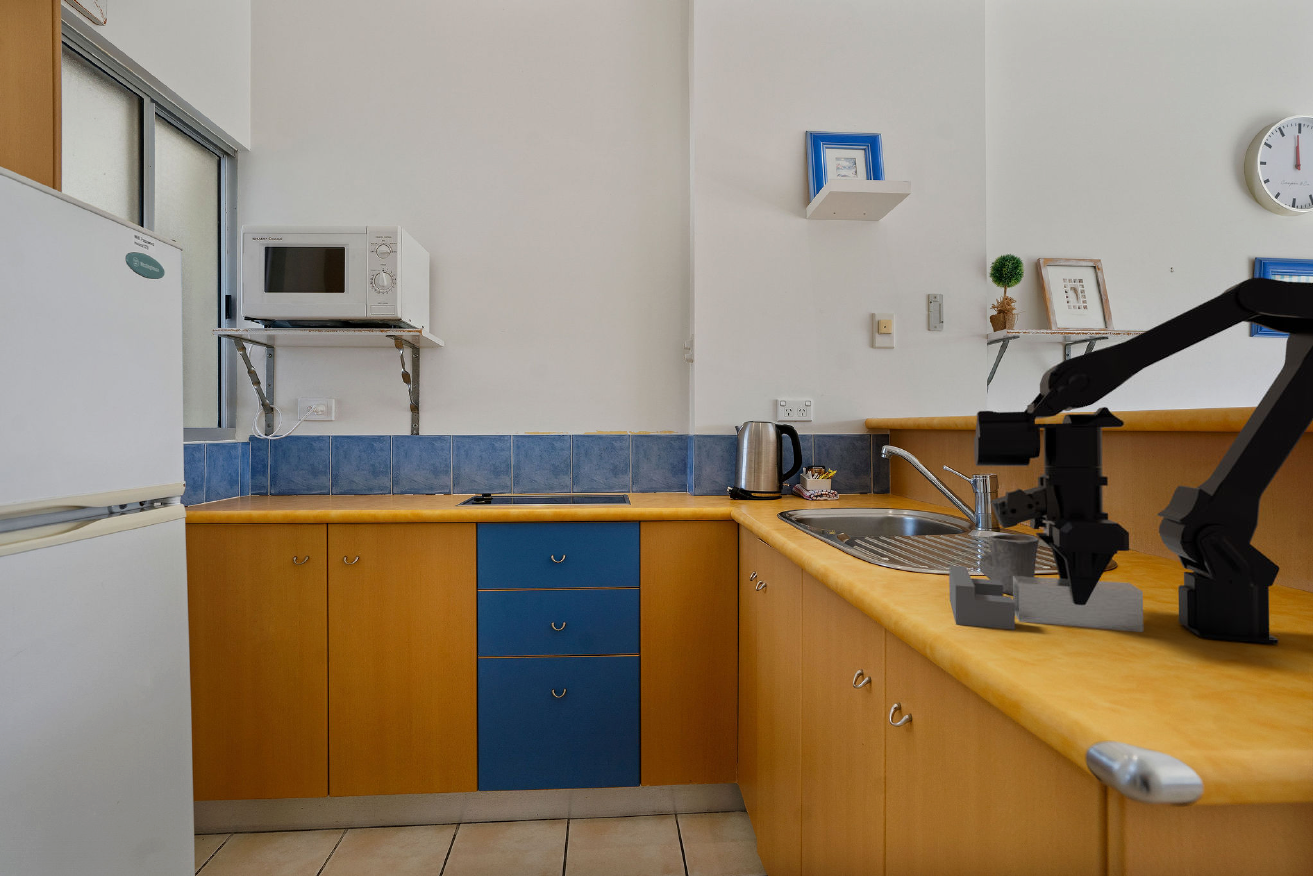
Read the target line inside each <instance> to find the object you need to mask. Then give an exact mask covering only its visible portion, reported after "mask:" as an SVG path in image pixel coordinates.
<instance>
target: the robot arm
mask: <svg viewBox="0 0 1313 876" xmlns="http://www.w3.org/2000/svg"><path fill="white" fill-rule="evenodd" d="M1242 322H1243V323H1244V322H1245V323H1250V324H1253V325H1256V326H1259V327H1261V328H1264V329H1267V330H1270V331H1274V332H1277V333H1281V334H1287V335H1288V337H1287V340H1286V343H1285V344H1286V345H1285V356H1284V357H1285V358H1284V364H1283V366H1282V368H1281V369H1280V372H1279V373H1278V374H1277V375H1276V378H1275V379H1274V381H1273V382H1272V383H1271V385H1270V386H1269V388H1268V389H1267V391H1266V393H1265V394H1264V396H1262V398H1261V400H1260V401H1259V403H1258V404H1257V406H1256V408H1255V409H1254V411H1253V412H1252V414H1251V415H1250V416H1249V418H1248V419H1247V421H1246V423H1245V424H1244V426H1243V427H1242V428H1241V430H1240V431H1239V433H1238V435H1237V436H1236V437H1235V440H1233V442H1232V444H1231V445H1230V447H1229V448H1228V450H1227V451H1226V453H1225V454H1224V456H1223V457H1222V459H1221V460H1220V461H1219V463H1218V465H1217V466H1216V467H1215V469H1214V471H1213V472H1212V474H1211V475H1210V477H1209V478H1208V479H1207V480H1205V481H1204V482H1203V483H1201V484H1200V485H1198V486H1197V487H1191V486H1185V485H1178V486H1177V487H1176V489H1174V492H1173V494H1172V497H1171V499H1170V501H1169V503H1168V505H1167V506H1166V507H1165V508H1164V509H1162V510H1161V511H1160V512H1158V513H1157V516H1158V517H1161V518H1162V520H1161V522H1160V524H1159V527H1158V533H1159V536H1160V538H1161V541H1162V543H1163V544H1164V546H1165V547H1166V548H1167V549H1168V550H1169V551H1171V552H1173V554H1176V555H1177V557H1178V560H1179V561H1180V564H1181V565H1182V567H1183V569H1186V570H1189V571H1184V572H1183V584H1180V585H1178V588H1177V590H1178V591H1177V592H1178V619H1177V620H1178V623H1179V624H1181V626H1184V627H1185V628H1187V629H1188V630H1189V631H1191V633H1194V634H1195V635H1196V636H1198V637H1201V638H1204V639H1205V638H1207V639H1215V640H1216V639H1217V640H1227V641H1239V642H1248V643H1249V642H1252V643H1263V644H1275V645H1278V644H1279V639H1278V638H1277V637H1275V636H1273V635H1271V634H1270V593H1269V592H1270V588H1269V587H1272V586H1274V582H1275V580H1276V578H1277V576H1278V574H1279V571H1280V566H1279V565H1277V564H1276V563H1275V562H1273V560H1271V559H1270V558H1269V557H1267V556H1266V555H1265V554H1263V553H1262V552H1261V551H1260V550H1258V549H1257V548H1256V547H1254V546H1253V545H1252V544H1251V542H1252V540H1253V537H1254V535H1255V532H1256V530H1257V528H1258V525H1259V524H1258V523H1259V518H1260V517H1259V516H1260V515H1259V514H1260V504H1261V499H1262V497H1263V494H1264V493H1265V491H1266V490H1267V488H1268V487H1269V486H1270V484H1271V483H1272V481H1273V479H1274V477H1275V476H1276V475H1277V474H1278V472H1279V471H1280V470H1281V468H1282V467H1283V465H1284V463H1285V462H1286V461H1287V459H1288V457H1289V456H1290V454H1291V453H1292V452H1293V450H1294V449H1295V447H1296V446H1297V444H1298V443H1299V442H1300V441H1301V438H1302V437H1303V436H1304V434H1305V433H1306V431H1307V430H1308V428H1309V427H1310V426H1311V424H1312V422H1313V282H1311V281H1310V282H1307V281H1305V282H1304V281H1303V282H1302V281H1286V280H1279V279H1273V278H1267V277H1258V276H1257V277H1251V278H1247V279H1245V280H1243V281H1240V282H1239V283H1237V284H1235V285H1233V286H1230V287H1229V288H1227V289H1225V290H1224V291H1223V292H1222V293H1221V294H1219V295H1217V296H1215V297H1213V298H1211V299H1209V300H1207V301H1205V302H1203V303H1201V304H1199V305H1197V306H1195V307H1193V308H1191V309H1189V310H1187V311H1185V312H1183V313H1181V314H1179V315H1176V316H1175V317H1172V318H1170V319H1168V320H1166V321H1164V322H1162V323H1161V324H1158V325H1156V326H1154V327H1152V328H1149V329H1148V330H1146V331H1144V332H1142V333H1140V334H1138V335H1136V336H1134V337H1132V338H1130V339H1127V340H1126V341H1122V342H1121V343H1117V344H1114V345H1113V344H1112V345H1111V346H1107V347H1103V348H1099V349H1096V350H1092V351H1089V352H1088V353H1084V354H1080V355H1078V356H1075V357H1071V358H1068V359H1067V360H1063V361H1061V362H1060V363H1057V364H1055V365H1054V366H1052V367H1051V368H1049V369H1048V370H1046V371H1045V372H1044V373H1043V375H1042V377H1041V379H1040V383H1039V394H1037V395H1036V397H1035V398H1034V399H1033V400H1032V402H1030V403H1029V404H1028V405H1027V406H1026V409H1025V410H1024V411H993V410H979V411H977V413H976V425H975V437H973V454H974V455H973V457H974V464H975V466H976V467H1029V465H1030V462H1031V459H1039V458H1040V454H1041V430H1040V429H1043V462H1044V463H1043V467H1044V468H1043V472H1044V473H1041V474H1040V476H1038V478H1037V486H1034V487H1032V488H1028V489H1025V490H1024V489H1021V488H1016V490H1014V491H1006V492H1005V495H1004V496H1000V497H997V498H994V499H992V500H990V501H989V503H990V504H991V507H992V509H993V511H994V514H995V516H996V520H997V522H998V523H999V526H1001V527H1002V528H1003V529H1008V528H1011V527H1016V526H1017V525H1018V524H1020V523H1024V522H1026V521H1029V527H1030V528H1031V529H1033V530H1040V528H1043V532H1036V533H1035V534H1036V537H1037V538H1038V539H1039V540H1040V539H1041V541H1043V542H1044V543H1045V544H1046V545H1047V546H1048V547H1049V548H1050V550H1051V552H1052V555H1053V556H1052V557H1053V559H1054V563H1055V565H1056V570H1057V575H1058V577H1059V578H1058V579H1068V580H1069V585H1070V590H1071V594H1072V599H1073V603H1074V604H1076V605H1085V604H1086V603H1087V601H1088V599H1089V597H1090V596H1091V594H1092V592H1093V590H1094V588H1095V586H1096V585H1097V583H1098V581H1100V580H1101V577H1102V576H1103V574H1104V572H1105V570H1106V569H1107V567H1108V566H1109V564H1110V562H1111V561H1112V559H1113V557H1114V556H1115V555H1117V554H1118V552H1126V551H1130V532H1129V531H1128V530H1126V528H1124V527H1123V526H1122V525H1120V523H1118V522H1116V521H1113V520H1111V519H1109V513H1108V512H1106V511H1104V507H1103V506H1104V504H1103V502H1104V500H1103V495H1104V493H1103V492H1104V491H1103V486H1104V487H1105V486H1106V487H1107V486H1108V485H1109V483H1108V481H1109V480H1108V476H1106V475H1105V476H1104V475H1103V430H1102V429H1103V428H1122V427H1123V426H1125V422H1124V421H1123V420H1122V419H1121V418H1119V417H1118V416H1116V415H1115V414H1113V413H1112V412H1111V411H1110V409H1109V408H1108V407H1106V406H1103V407H1099V408H1098V409H1096V411H1095V412H1093V413H1077V414H1075V413H1074V414H1073V413H1072V414H1070V413H1069V414H1065V415H1064V416H1063V419H1062V423H1036V420H1037V419H1040V420H1041V419H1047V418H1051V417H1056V416H1057V415H1059V414H1060V413H1062V412H1064V411H1071V410H1076V409H1082V408H1085V407H1088V406H1091V405H1093V404H1095V403H1098V402H1099V401H1100V400H1101V399H1103V398H1104V397H1106V396H1108V395H1109V394H1111V393H1112V392H1113V391H1115V390H1117V388H1119V387H1120V386H1122V385H1123V384H1124V383H1126V382H1127V381H1128V380H1130V379H1131V378H1132V377H1134V376H1135V375H1137V374H1138V373H1139V372H1141V371H1143V369H1146V368H1148V367H1149V366H1151V365H1153V364H1156V363H1158V362H1160V361H1162V360H1164V359H1167V358H1169V357H1172V356H1173V355H1175V354H1177V353H1179V352H1181V351H1183V350H1185V349H1187V348H1190V347H1192V346H1193V345H1196V344H1198V343H1200V342H1202V341H1205V340H1206V339H1209V338H1210V337H1213V336H1216V335H1217V334H1220V333H1221V332H1223V331H1226V330H1228V329H1230V328H1232V327H1234V326H1236V325H1239V324H1240V323H1242Z"/></svg>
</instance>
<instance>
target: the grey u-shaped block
mask: <svg viewBox="0 0 1313 876" xmlns="http://www.w3.org/2000/svg"><path fill="white" fill-rule="evenodd" d="M948 568H949V571H948V572H949V575H948V576H949V602H950V607H951V611H952V615H953V619H954V622H955V625H959V626H970V627H983V628H991V629H1003V630H1015V629H1016V615H1015V603H1014V601H1013V597H1012V596H1007V595H1006V596H1004V593H1003V584H1002V583H1001V581H1000V580H990V579H989V578H988V579H987V578H986V579H985V578H984V579H983V578H972V577H971V575H970V573H969V570H968V568H967V566H959V565H958V566H957V565H949V567H948Z"/></svg>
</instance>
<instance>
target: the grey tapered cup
mask: <svg viewBox="0 0 1313 876" xmlns="http://www.w3.org/2000/svg"><path fill="white" fill-rule="evenodd" d="M987 541H988V545H989V550H990V551H989V552H987V553H985V554H984V555H982V556H981V557H980V559H979V561H978V563H979V571H980V572H981V574H983V575H984V576H985V577H986V578H988V580H1000V581H1001V583H1002V584H1003V594H1006V595H1010V596H1013V576H1026V577H1036V575H1035V573H1036V560H1037V554H1038V546H1039V542H1040V538H1039V537H1038V536H1035V535H1028V534H1012V533H1011V534H995V535H990V536H989V535H988V537H987Z"/></svg>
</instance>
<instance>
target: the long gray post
mask: <svg viewBox="0 0 1313 876" xmlns="http://www.w3.org/2000/svg"><path fill="white" fill-rule="evenodd" d="M1143 595H1144V594H1143V590H1141V589H1139V588H1138V587H1137V586H1135V585H1133V584H1132V583H1130V582H1120V581H1117V582H1116V581H1102V580H1099V581H1098V583H1097V585H1096V586H1095V588H1094V590H1093V592H1092V594H1091V596H1090V597H1089V599H1088V601H1087V603H1086V604H1085V605H1076V604H1074V603H1073V599H1072V594H1071V590H1070V585H1069V580H1068V579H1060V578H1055V577H1040V576H1034V577H1026V576H1013V595H1012V600H1013V601H1014V603H1015V618H1017V620H1018V622H1020V623H1030V624H1031V623H1032V624H1041V625H1042V624H1043V625H1054V626H1055V625H1056V626H1067V627H1077V628H1090V629H1099V630H1100V629H1101V630H1111V631H1113V630H1115V631H1124V632H1136V633H1137V632H1138V633H1144V598H1143V597H1144V596H1143Z"/></svg>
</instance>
